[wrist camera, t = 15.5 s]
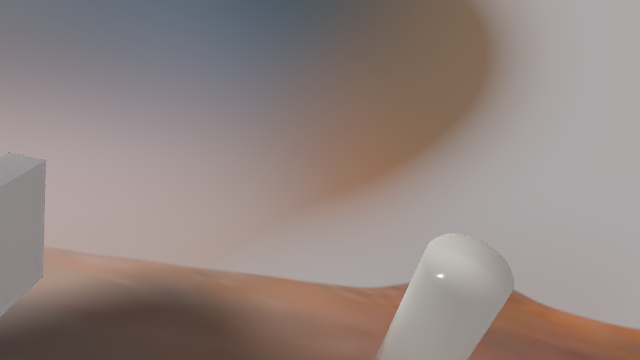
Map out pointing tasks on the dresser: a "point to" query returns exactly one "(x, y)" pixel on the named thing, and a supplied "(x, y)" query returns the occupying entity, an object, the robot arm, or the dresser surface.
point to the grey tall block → (449, 301)
